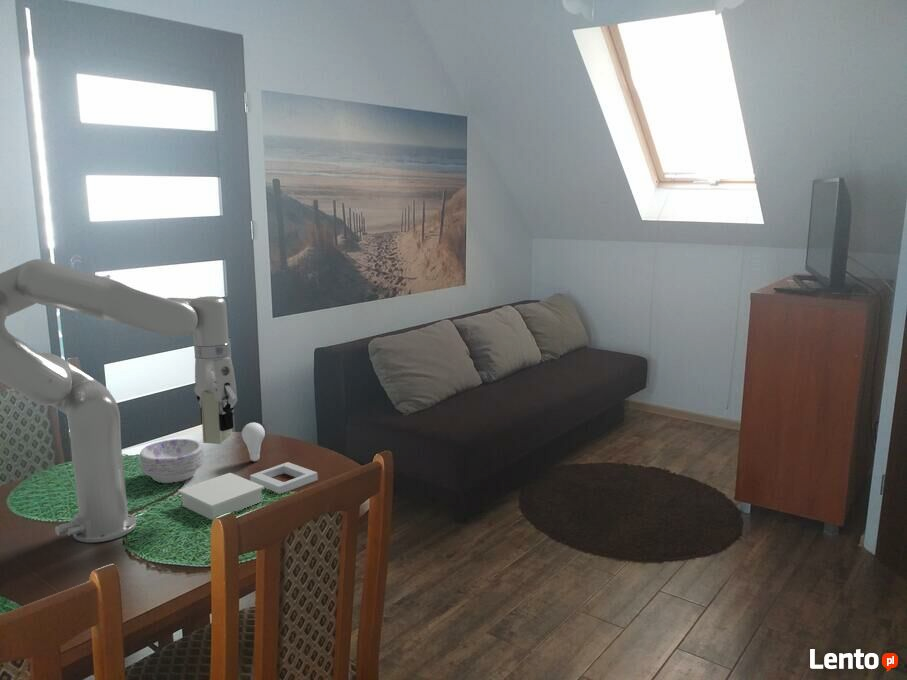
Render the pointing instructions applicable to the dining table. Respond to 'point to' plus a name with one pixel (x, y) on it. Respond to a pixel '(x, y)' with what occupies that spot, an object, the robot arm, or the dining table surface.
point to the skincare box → (212, 420)
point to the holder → (280, 487)
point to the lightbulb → (253, 439)
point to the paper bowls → (172, 460)
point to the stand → (221, 495)
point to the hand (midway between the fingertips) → (217, 425)
